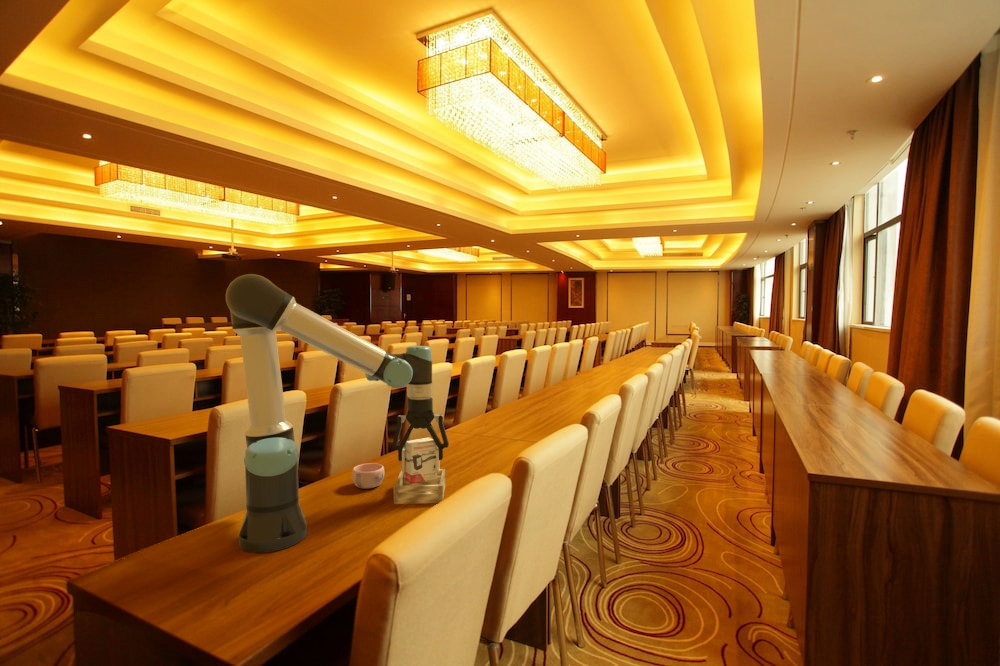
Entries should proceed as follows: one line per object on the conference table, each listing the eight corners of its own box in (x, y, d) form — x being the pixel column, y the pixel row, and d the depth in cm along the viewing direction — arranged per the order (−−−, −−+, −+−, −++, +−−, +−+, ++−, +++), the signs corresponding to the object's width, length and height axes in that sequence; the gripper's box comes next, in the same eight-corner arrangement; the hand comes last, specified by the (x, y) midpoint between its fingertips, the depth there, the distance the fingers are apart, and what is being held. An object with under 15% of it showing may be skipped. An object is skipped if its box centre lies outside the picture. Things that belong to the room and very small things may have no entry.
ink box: (411, 484, 145) (410, 444, 144) (404, 479, 149) (404, 441, 148) (437, 478, 150) (437, 440, 149) (430, 474, 154) (429, 436, 153)
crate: (393, 504, 142) (393, 486, 141) (401, 485, 157) (401, 469, 156) (442, 502, 142) (442, 485, 142) (445, 484, 157) (445, 468, 157)
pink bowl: (373, 493, 150) (373, 474, 150) (345, 489, 153) (345, 470, 153) (393, 480, 162) (393, 462, 161) (367, 477, 165) (366, 459, 164)
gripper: (380, 400, 144) (381, 475, 145) (456, 398, 145) (457, 473, 146) (384, 395, 151) (386, 467, 152) (457, 394, 152) (458, 465, 154)
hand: (421, 470), depth 149 cm, fingers closed on ink box, 9 cm apart
